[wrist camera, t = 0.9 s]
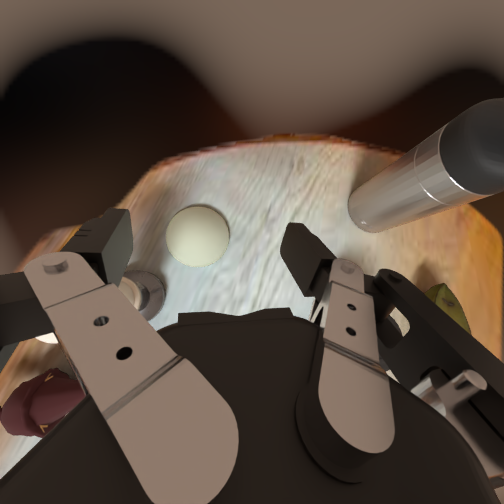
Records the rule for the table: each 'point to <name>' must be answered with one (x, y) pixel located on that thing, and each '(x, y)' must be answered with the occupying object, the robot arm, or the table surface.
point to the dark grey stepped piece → (148, 292)
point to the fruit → (448, 304)
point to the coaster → (197, 236)
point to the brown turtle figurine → (40, 403)
